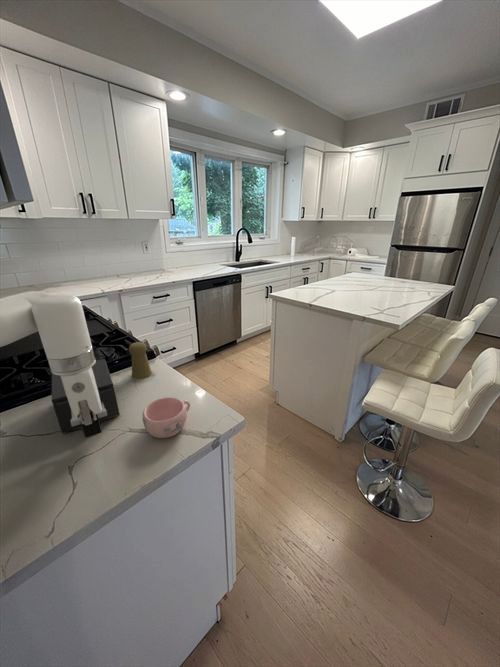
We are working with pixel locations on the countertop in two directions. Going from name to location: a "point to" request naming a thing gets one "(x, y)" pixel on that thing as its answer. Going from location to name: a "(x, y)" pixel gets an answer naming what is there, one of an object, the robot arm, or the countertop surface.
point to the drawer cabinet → (102, 382)
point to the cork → (139, 361)
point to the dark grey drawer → (72, 423)
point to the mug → (165, 416)
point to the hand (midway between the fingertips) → (93, 433)
